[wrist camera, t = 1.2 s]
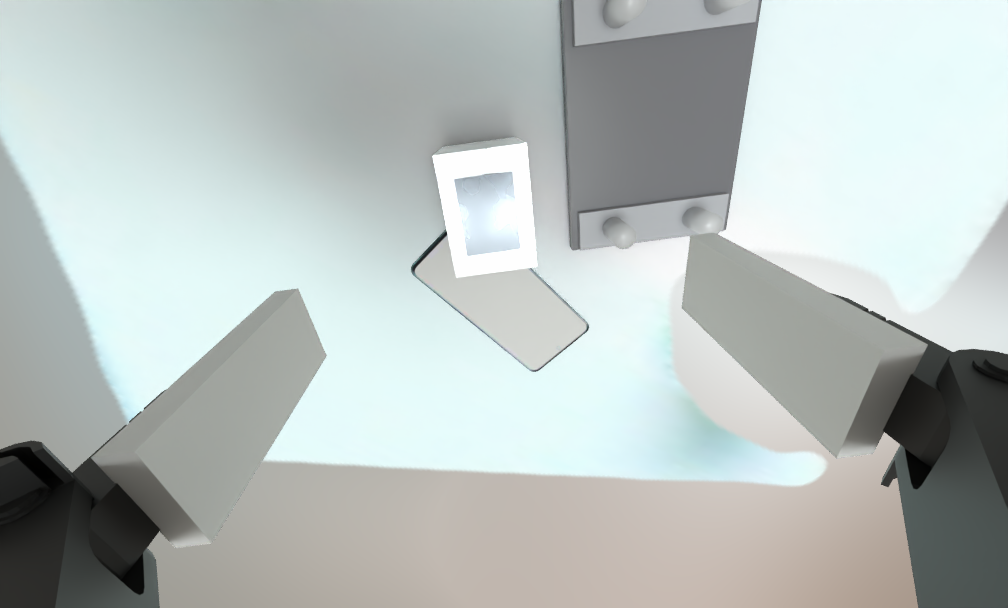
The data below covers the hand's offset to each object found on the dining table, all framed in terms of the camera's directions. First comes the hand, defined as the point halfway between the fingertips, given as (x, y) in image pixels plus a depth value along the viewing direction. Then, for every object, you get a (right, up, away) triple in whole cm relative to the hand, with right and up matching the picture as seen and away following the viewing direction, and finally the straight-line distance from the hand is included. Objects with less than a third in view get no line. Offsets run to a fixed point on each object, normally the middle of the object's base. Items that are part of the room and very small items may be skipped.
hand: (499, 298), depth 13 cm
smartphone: (0, 0, +19) cm, 19 cm away
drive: (-1, +8, +15) cm, 17 cm away
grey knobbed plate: (+10, +12, +13) cm, 21 cm away
